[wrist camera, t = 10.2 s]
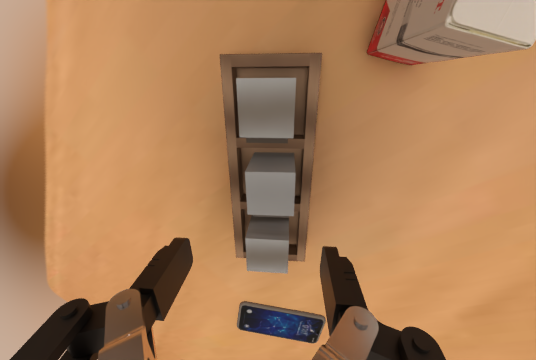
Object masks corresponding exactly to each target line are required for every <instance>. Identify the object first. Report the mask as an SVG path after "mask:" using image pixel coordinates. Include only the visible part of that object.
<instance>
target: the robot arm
mask: <svg viewBox="0 0 536 360" xmlns="http://www.w3.org/2000/svg"><path fill="white" fill-rule="evenodd" d="M192 263H193V256H192V251H191V246H190V241H189V239H188V238H174V239H173V241H172V242H171V243H170V245H169V246H164V247H163V248H162V249H160V250H159V251H158V252H157V253H156V254H155V256H154V257H153V258H152V260H151V261H150V262H149V263H148V266H146V267H145V269H144V270H143V271H142V273H141V274H140V275H139V277H138V278H137V279H136V281H135V282H134V283H133V285H132V286H131V287H130V288H129V289H126V290H123V291H121V292H119V293H117V294H116V295H115V296H113V297H112V298H111V299H110V301H108V302H103V303H99V304H94V305H90V304H89V302H88V301H87V300H86V299H82V298H81V299H75V300H72V301H70V302H67V303H66V304H64V305H62V306H61V307H60V308H58V309H57V310H56V311H55V312H54V313H53V314H52V315H51V316H50V317H49V319H48V320H47V321H46V322H45V323H44V324H43V325H42V326H41V327H40V328H39V329H38V330H37V331H36V332H35V333H34V334H33V335H32V337H31V338H30V339H29V340H28V341H27V342H26V343H25V344H24V345H23V346H22V347H21V349H19V350H18V352H17V353H16V354H15V355H14V356H13V357H12V358H11V359H10V360H58V359H59V358H60V356H61V355H62V354H63V353H64V351H65V350H66V349H67V351H66V352H65V353H64V355H63V356H62V357H61V359H60V360H97V359H98V360H157V355H156V348H155V341H154V335H153V329H152V325H153V324H154V322H155V320H160V321H164V319H165V317H166V315H167V313H168V311H169V309H170V307H171V305H172V304H173V302H174V300H175V298H176V296H177V294H178V292H179V290H180V288H181V286H182V284H183V282H184V280H185V278H186V277H187V275H188V273H189V271H190V269H191V266H192ZM320 278H321V284H322V290H323V297H324V303H325V310H326V316H327V322H328V329H329V335H330V338H329V339H328V341H327V343H326V344H325V345H322V346H321V347H320V348H319V349H318V351H317V352H316V354H315V356H314V357H313V359H312V360H446V359H445V357H444V355H443V353H442V351H441V349H440V347H439V345H438V344H437V342H436V341H435V340H434V339H433V338H432V337H431V336H430V335H429V334H428V333H426V332H425V331H423V330H421V329H419V328H416V327H406V328H404V329H403V330H402V332H401V331H399V330H396V329H394V328H391V327H388V326H386V325H384V324H382V323H380V322H379V321H377V320H376V318H375V317H374V316H373V314H372V313H371V312H369V310H368V308H367V306H366V303H365V300H364V297H363V294H362V291H361V288H360V285H359V282H358V279H357V276H356V274H355V271H354V268H353V265H352V263H351V262H350V261H349V260H348V259H347V257H339V254H338V250H337V248H336V247H327V246H323V248H322V256H321V263H320Z"/></svg>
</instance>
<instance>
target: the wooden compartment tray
mask: <svg viewBox="0 0 536 360" xmlns="http://www.w3.org/2000/svg"><path fill="white" fill-rule="evenodd" d="M321 61H322V53H285V54H220V65H221V77H222V89H223V102H224V114H225V126H226V139H227V151H228V163H229V175H230V188H231V200H232V212H233V224H234V237H235V249H236V257H238V258H246V260H247V271H258V272H273V273H288V261H304V262H305V251H306V239H307V227H308V215H309V203H310V192H311V180H312V168H313V156H314V144H315V132H316V120H317V108H318V96H319V85H320V73H321ZM254 152H271V153H294V159H295V172H296V175H295V200H294V216H289V218H282V217H254V216H253V215H248V214H247V197H246V181H245V171H246V169H247V167H248V164H249V162H250V160H251V158H252V156H253V154H254Z"/></svg>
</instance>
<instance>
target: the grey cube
mask: <svg viewBox="0 0 536 360" xmlns="http://www.w3.org/2000/svg"><path fill="white" fill-rule="evenodd" d="M295 175H296V172H295V159H294V153H271V152H254V154H253V156H252V158H251V160H250V162H249V164H248V167H247V169H246V171H245V181H246V197H247V214H248V215H253V216H254V217H282V218H289V216H294V200H295Z"/></svg>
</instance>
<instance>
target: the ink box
mask: <svg viewBox="0 0 536 360" xmlns="http://www.w3.org/2000/svg"><path fill="white" fill-rule="evenodd" d="M535 40H536V0H386V2H385V5H384V7H383V10H382V12H381V15H380V18H379V21H378V23H377V26H376V29H375V31H374V34H373V37H372V39H371V42H370V45H369V48H368V51H367V53H368V55H372V56H376V57H380V58H383V59H387V60H391V61H395V62H399V63H404V64H408V65H414V64H422V63H429V62H438V61H445V60H452V59H458V58H464V57H472V56H479V55H486V54H494V53H502V52H509V51H516V50H523V49H528V48H530V47H531V46H532V45H533V43H534V42H535Z"/></svg>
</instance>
